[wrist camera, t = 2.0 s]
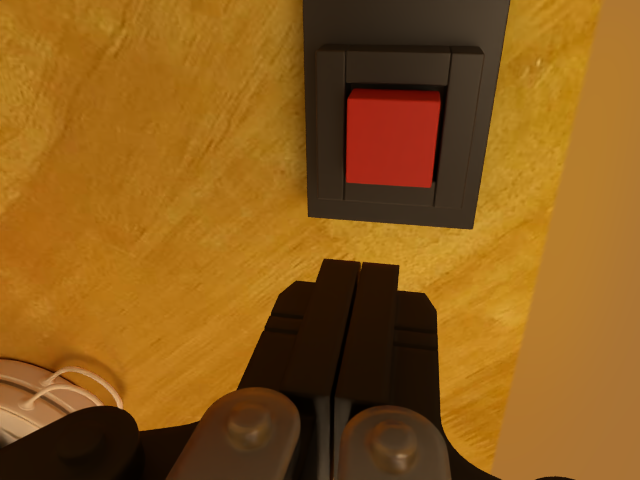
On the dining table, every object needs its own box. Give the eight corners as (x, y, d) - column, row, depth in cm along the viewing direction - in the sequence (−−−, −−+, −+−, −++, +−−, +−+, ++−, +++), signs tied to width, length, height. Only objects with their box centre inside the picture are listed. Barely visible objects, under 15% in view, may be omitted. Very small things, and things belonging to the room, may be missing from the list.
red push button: (313, -9, 21) (291, -4, 18) (503, -10, 20) (519, -4, 17) (316, 199, 26) (299, 234, 23) (469, 210, 25) (476, 249, 21)
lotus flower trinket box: (16, 579, 41) (152, 519, 32) (-150, 471, 37) (-48, 369, 28) (67, 502, 47) (194, 434, 38) (-72, 402, 43) (34, 299, 34)
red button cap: (352, 87, 19) (346, 98, 18) (439, 90, 19) (440, 101, 17) (351, 167, 21) (345, 183, 20) (430, 172, 21) (431, 188, 19)
